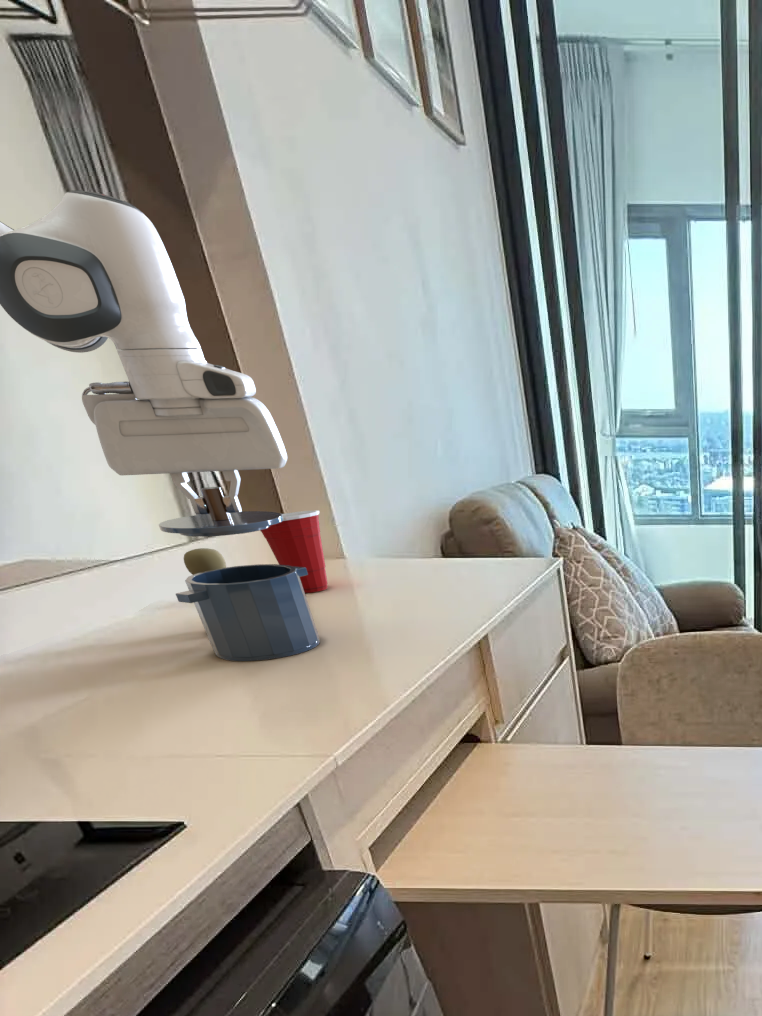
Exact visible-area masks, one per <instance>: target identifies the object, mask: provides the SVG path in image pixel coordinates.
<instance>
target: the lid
mask: <svg viewBox="0 0 762 1016" xmlns="http://www.w3.org/2000/svg"><path fill="white" fill-rule="evenodd" d="M199 490H200V491H199V492H200V494H201V497H203V499H204V501H205V504H206V507H207V509H208V512H209V514H201V515H196V514H194V515H189V516H188V515H187V516H182V517H175V518H171V519H168V520H165V521H161V522H160V523H158V527H159V529H160V531H161V532H163V533H169V534H177V535H178V534H179V535H180V536H184V537H194V538H195V537H197V538H198V537H201V538H202V537H223V536H233V535H242V534H249V533H254V532H259V531H260V530H263V529H266V528H268V527H270V525H274V524H277V523H280V522H282V521H283V516H282V514H283V513H280V512H276V511H267V510H265V511H261V510H255V511H254V510H253V511H252V510H251V511H250V510H249V511H246V510H245V511H243V510H242V511H241V512H237V513H228V512H227V510H226V505H225V504H224V502H223V499H222V497H224V496H225V495H224V493H223V489H222V487H221V486H208V487H201V488H199ZM260 532H261V531H260Z"/></svg>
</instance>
